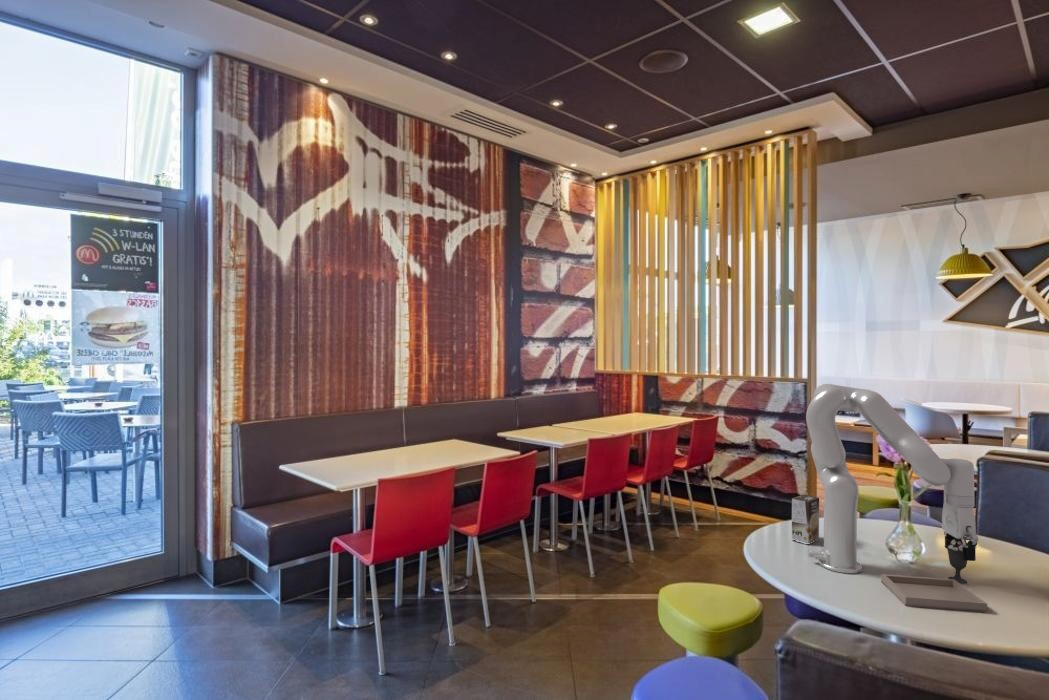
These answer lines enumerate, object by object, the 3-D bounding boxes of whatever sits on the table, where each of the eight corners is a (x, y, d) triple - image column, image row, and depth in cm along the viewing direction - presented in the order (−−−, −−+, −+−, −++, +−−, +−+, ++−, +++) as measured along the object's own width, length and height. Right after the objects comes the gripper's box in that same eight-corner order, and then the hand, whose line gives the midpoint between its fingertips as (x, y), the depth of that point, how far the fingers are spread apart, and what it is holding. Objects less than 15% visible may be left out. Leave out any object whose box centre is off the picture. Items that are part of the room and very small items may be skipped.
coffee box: (808, 545, 203) (808, 501, 203) (791, 540, 208) (791, 498, 208) (819, 540, 209) (819, 497, 209) (802, 535, 214) (802, 493, 214)
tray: (905, 606, 156) (905, 597, 156) (881, 582, 172) (881, 574, 172) (987, 612, 152) (987, 603, 152) (954, 587, 168) (954, 579, 168)
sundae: (976, 585, 169) (977, 536, 169) (951, 584, 170) (951, 535, 170) (964, 577, 176) (964, 529, 175) (940, 575, 177) (940, 528, 177)
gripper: (930, 491, 182) (931, 544, 182) (961, 506, 165) (962, 564, 165) (956, 492, 180) (957, 545, 180) (990, 507, 163) (991, 566, 164)
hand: (959, 554), depth 173 cm, fingers open, 9 cm apart
